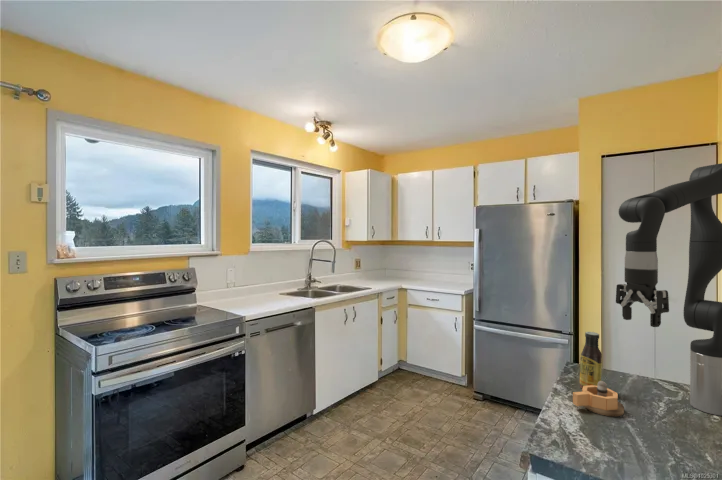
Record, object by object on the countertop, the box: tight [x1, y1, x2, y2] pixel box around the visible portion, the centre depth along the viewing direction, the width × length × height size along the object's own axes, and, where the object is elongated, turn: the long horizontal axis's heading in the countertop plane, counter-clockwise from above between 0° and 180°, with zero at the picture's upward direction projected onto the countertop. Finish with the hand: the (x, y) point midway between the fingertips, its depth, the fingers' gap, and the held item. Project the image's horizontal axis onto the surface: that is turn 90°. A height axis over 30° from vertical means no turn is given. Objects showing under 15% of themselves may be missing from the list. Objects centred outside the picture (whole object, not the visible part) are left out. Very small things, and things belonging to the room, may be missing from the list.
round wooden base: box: [582, 380, 625, 417], centre depth 109 cm, size 11×11×8 cm
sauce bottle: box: [579, 331, 603, 390], centre depth 122 cm, size 7×6×20 cm
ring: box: [572, 385, 619, 410], centre depth 109 cm, size 13×9×4 cm
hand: (640, 323), depth 102 cm, fingers open, 8 cm apart
